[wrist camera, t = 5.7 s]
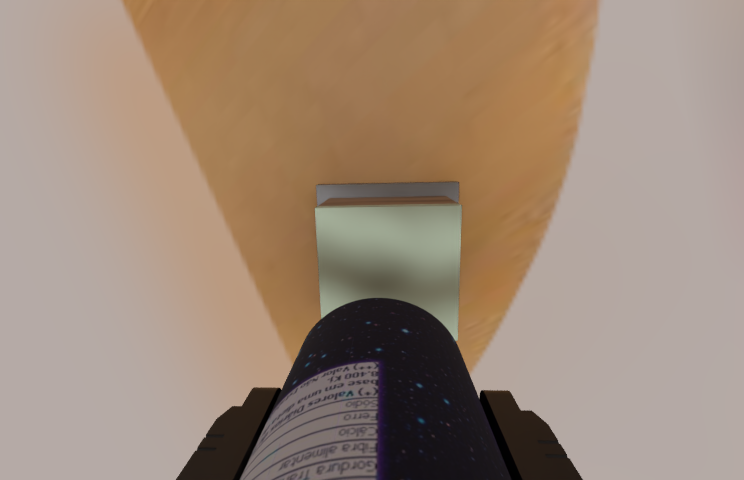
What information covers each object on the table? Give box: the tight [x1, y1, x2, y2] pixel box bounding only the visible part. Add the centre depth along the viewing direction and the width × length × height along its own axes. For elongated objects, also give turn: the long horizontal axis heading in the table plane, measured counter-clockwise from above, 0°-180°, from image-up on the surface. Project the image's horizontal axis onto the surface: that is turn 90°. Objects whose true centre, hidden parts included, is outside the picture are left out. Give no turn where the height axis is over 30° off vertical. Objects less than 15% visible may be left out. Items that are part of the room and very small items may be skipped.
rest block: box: [315, 182, 462, 341], centre depth 26 cm, size 11×11×7 cm
